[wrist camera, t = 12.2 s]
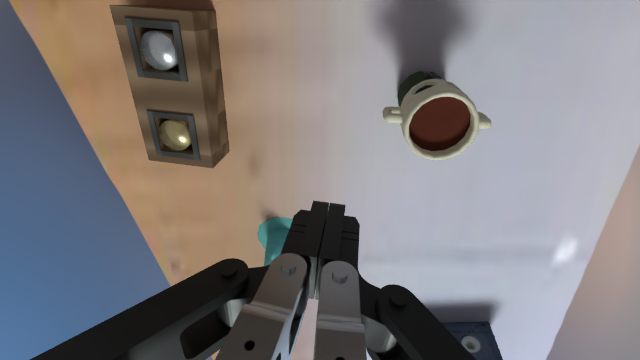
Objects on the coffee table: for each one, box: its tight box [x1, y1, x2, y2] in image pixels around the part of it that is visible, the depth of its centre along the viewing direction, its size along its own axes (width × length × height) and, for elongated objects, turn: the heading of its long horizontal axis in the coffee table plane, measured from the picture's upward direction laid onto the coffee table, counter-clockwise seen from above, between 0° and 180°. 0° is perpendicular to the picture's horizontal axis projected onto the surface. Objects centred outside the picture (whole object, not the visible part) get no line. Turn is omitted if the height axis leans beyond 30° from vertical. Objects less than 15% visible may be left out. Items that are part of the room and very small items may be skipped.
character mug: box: [383, 71, 491, 160], centre depth 35 cm, size 11×7×13 cm, turn 89°
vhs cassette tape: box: [441, 322, 503, 360], centre depth 59 cm, size 18×3×10 cm, turn 102°
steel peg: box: [140, 29, 179, 70], centre depth 38 cm, size 4×4×6 cm
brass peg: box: [159, 119, 192, 151], centre depth 44 cm, size 4×4×6 cm
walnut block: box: [110, 5, 229, 168], centre depth 42 cm, size 20×10×6 cm, turn 176°
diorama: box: [258, 217, 293, 266], centre depth 53 cm, size 12×20×9 cm, turn 90°
